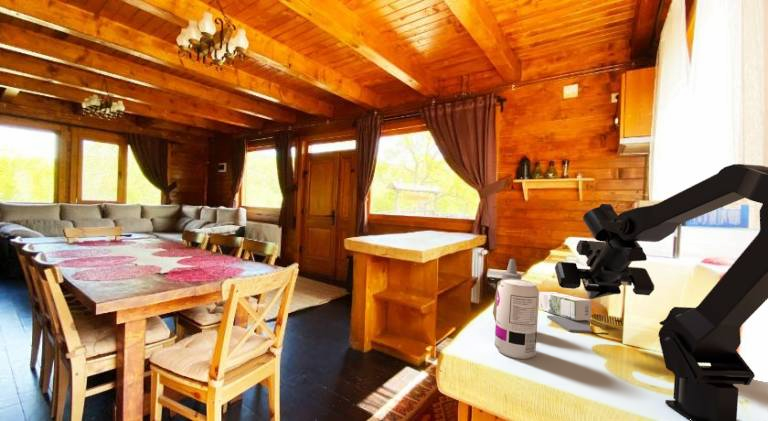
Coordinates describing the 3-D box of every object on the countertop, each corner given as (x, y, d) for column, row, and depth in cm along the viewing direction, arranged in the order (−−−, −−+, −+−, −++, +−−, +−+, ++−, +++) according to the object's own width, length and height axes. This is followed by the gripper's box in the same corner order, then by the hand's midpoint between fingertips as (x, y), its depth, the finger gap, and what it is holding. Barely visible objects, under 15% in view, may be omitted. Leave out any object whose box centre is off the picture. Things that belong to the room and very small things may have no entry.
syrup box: (591, 299, 91) (553, 291, 105) (574, 299, 89) (537, 291, 103) (592, 320, 90) (553, 309, 104) (575, 321, 89) (537, 309, 103)
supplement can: (487, 350, 69) (491, 280, 69) (504, 340, 75) (508, 276, 75) (526, 364, 63) (530, 288, 63) (541, 353, 69) (545, 283, 69)
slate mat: (607, 333, 83) (607, 331, 83) (569, 331, 83) (569, 329, 83) (580, 319, 94) (580, 317, 94) (547, 317, 94) (547, 315, 94)
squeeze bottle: (485, 325, 84) (489, 257, 84) (507, 322, 88) (511, 256, 88) (509, 336, 77) (513, 262, 77) (532, 333, 81) (536, 261, 80)
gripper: (648, 232, 72) (620, 273, 83) (559, 227, 76) (543, 267, 87) (671, 273, 65) (637, 312, 75) (570, 265, 68) (551, 304, 79)
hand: (589, 297), depth 79 cm, fingers closed
